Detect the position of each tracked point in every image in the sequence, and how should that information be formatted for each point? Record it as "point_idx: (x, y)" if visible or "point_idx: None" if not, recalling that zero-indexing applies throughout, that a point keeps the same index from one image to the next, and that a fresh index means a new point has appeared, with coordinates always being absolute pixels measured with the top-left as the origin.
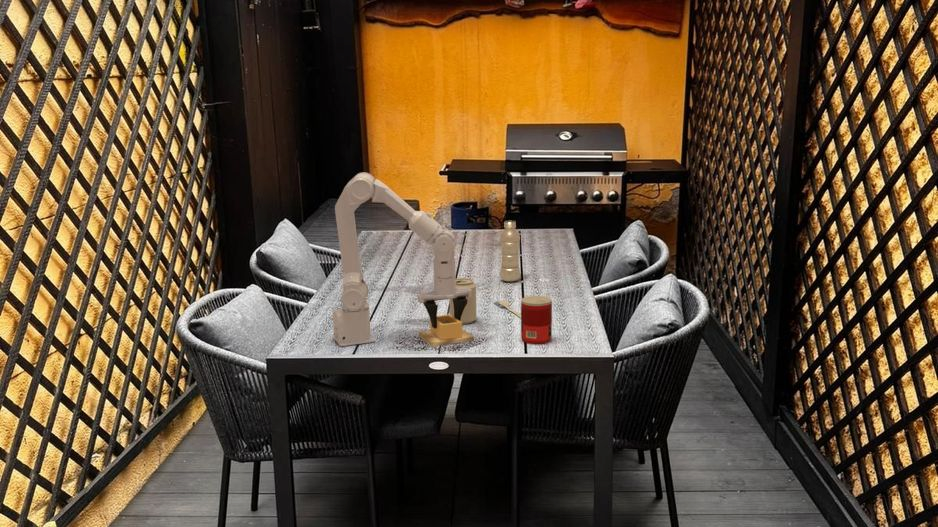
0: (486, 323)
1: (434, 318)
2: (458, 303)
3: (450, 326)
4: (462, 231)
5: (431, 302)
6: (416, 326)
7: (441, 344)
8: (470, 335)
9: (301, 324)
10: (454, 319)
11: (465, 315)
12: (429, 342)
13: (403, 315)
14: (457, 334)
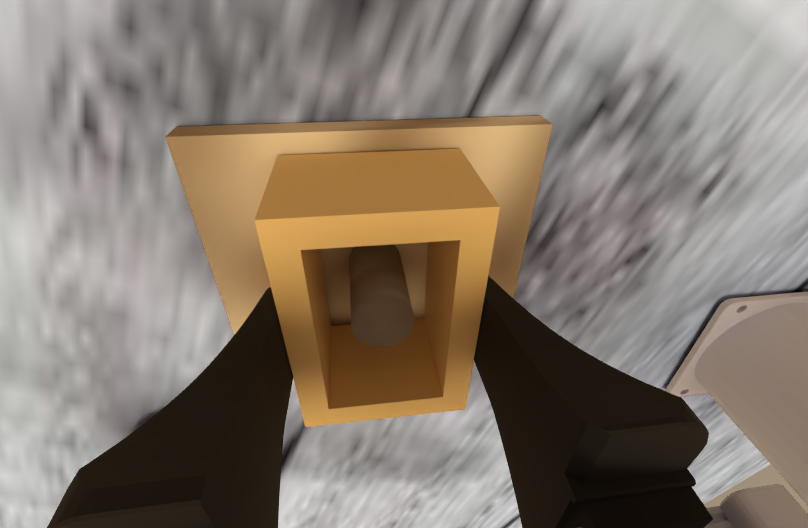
0: (64, 398)
1: (526, 320)
2: (233, 476)
3: (392, 199)
4: None
5: (625, 499)
6: (441, 422)
7: (462, 120)
8: (195, 181)
9: (733, 483)
10: (308, 323)
11: None
12: (540, 160)
13: (430, 507)
14: (318, 166)
